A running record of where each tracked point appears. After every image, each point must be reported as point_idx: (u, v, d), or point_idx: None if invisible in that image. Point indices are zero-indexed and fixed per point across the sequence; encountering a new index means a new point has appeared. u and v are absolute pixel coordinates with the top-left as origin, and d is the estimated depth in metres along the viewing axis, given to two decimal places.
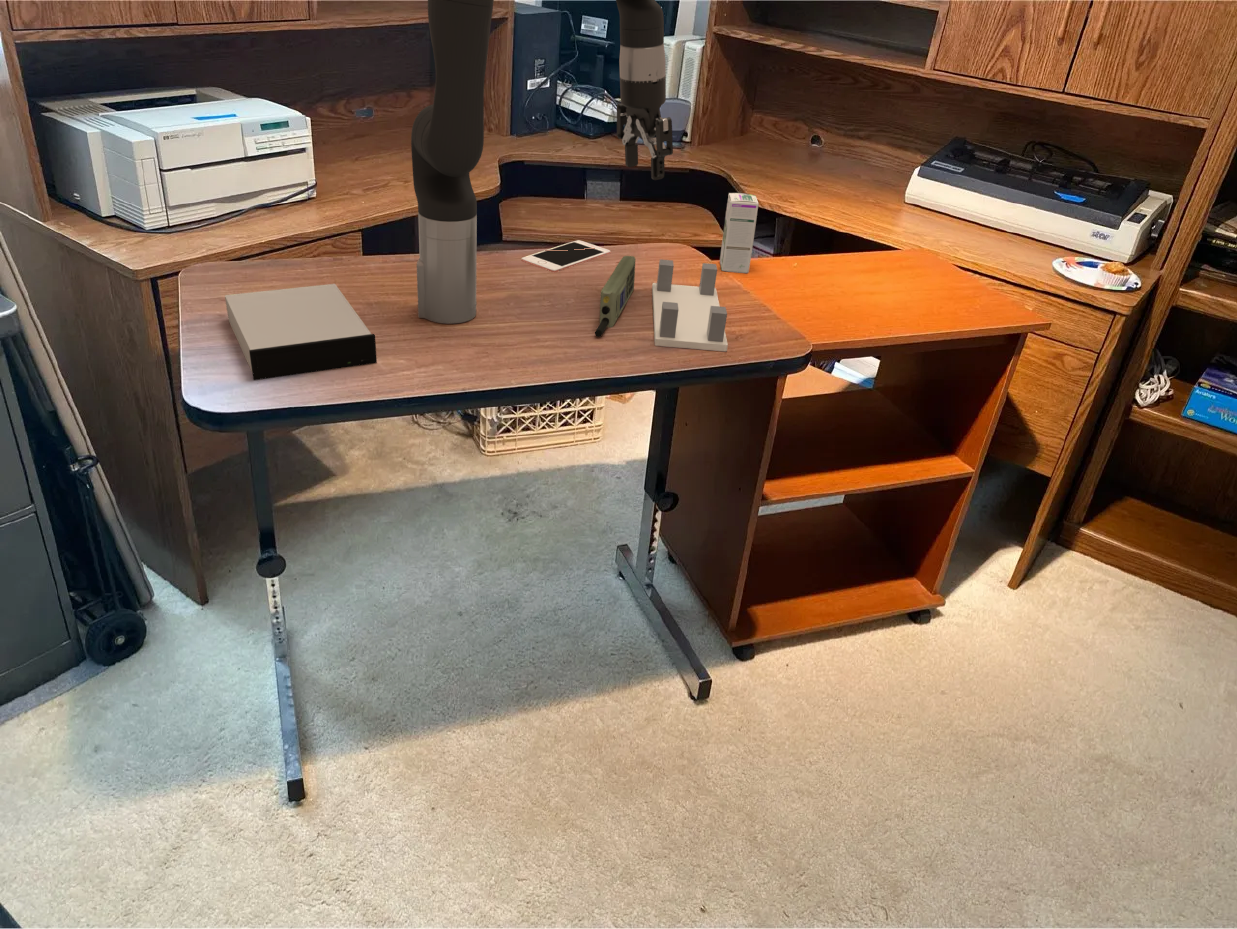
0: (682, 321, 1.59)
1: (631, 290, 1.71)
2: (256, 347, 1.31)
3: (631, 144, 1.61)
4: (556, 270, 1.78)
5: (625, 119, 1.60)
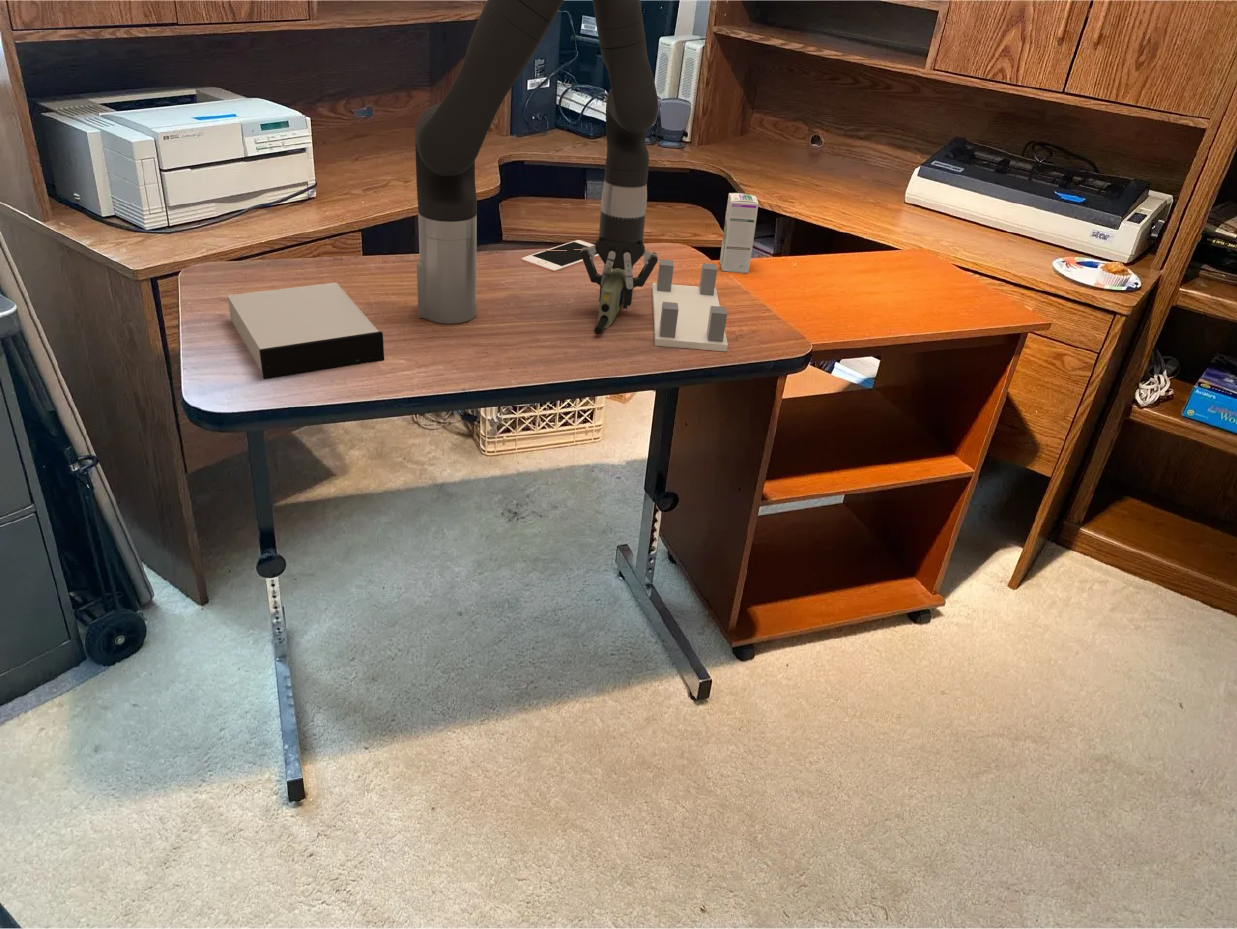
0: (682, 321, 1.59)
1: None
2: (266, 346, 1.31)
3: None
4: (556, 270, 1.78)
5: (592, 261, 1.59)
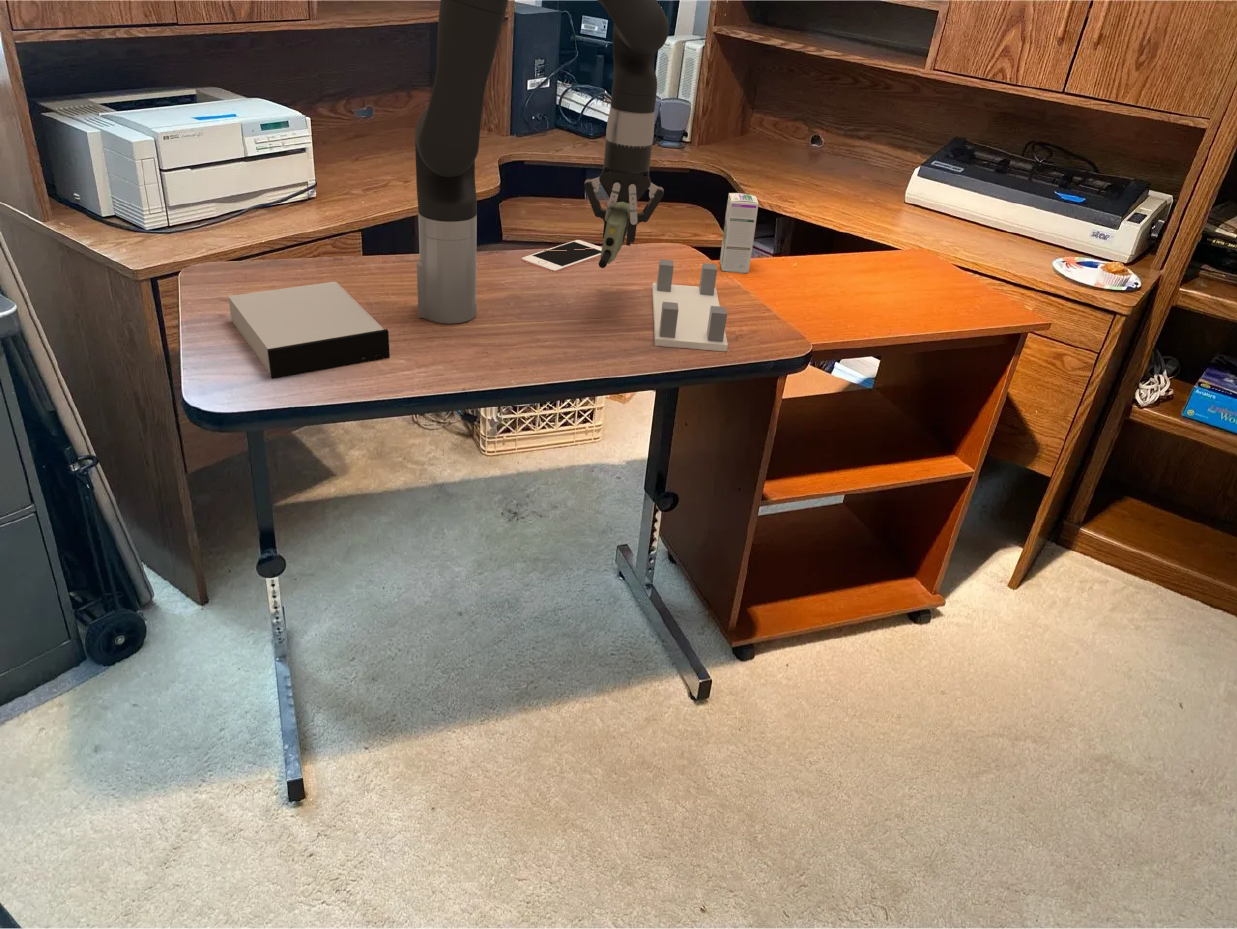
0: (682, 321, 1.59)
1: None
2: (273, 346, 1.31)
3: None
4: (556, 270, 1.78)
5: (595, 195, 1.53)
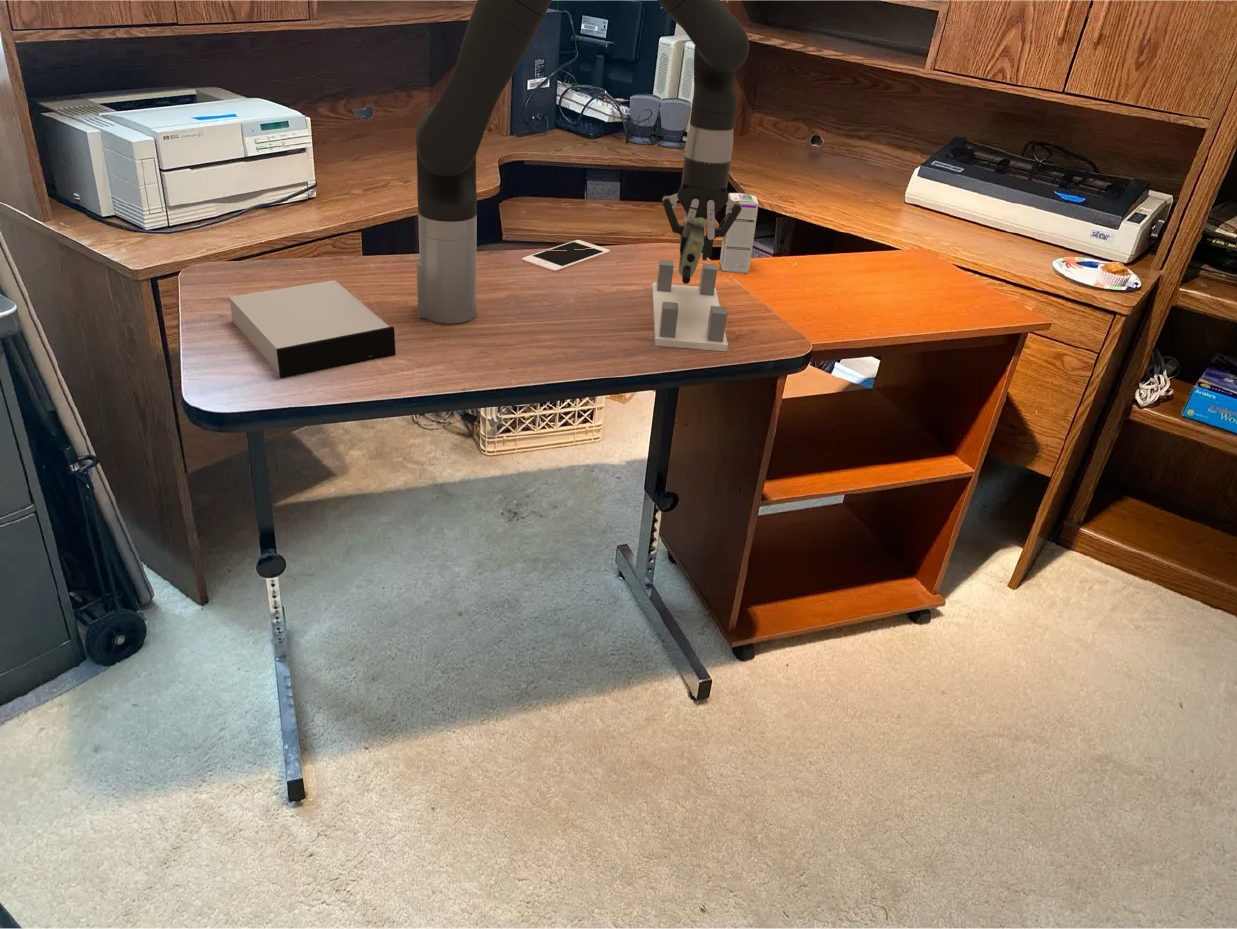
0: (682, 321, 1.59)
1: None
2: (281, 346, 1.32)
3: None
4: (557, 270, 1.78)
5: (673, 211, 1.54)
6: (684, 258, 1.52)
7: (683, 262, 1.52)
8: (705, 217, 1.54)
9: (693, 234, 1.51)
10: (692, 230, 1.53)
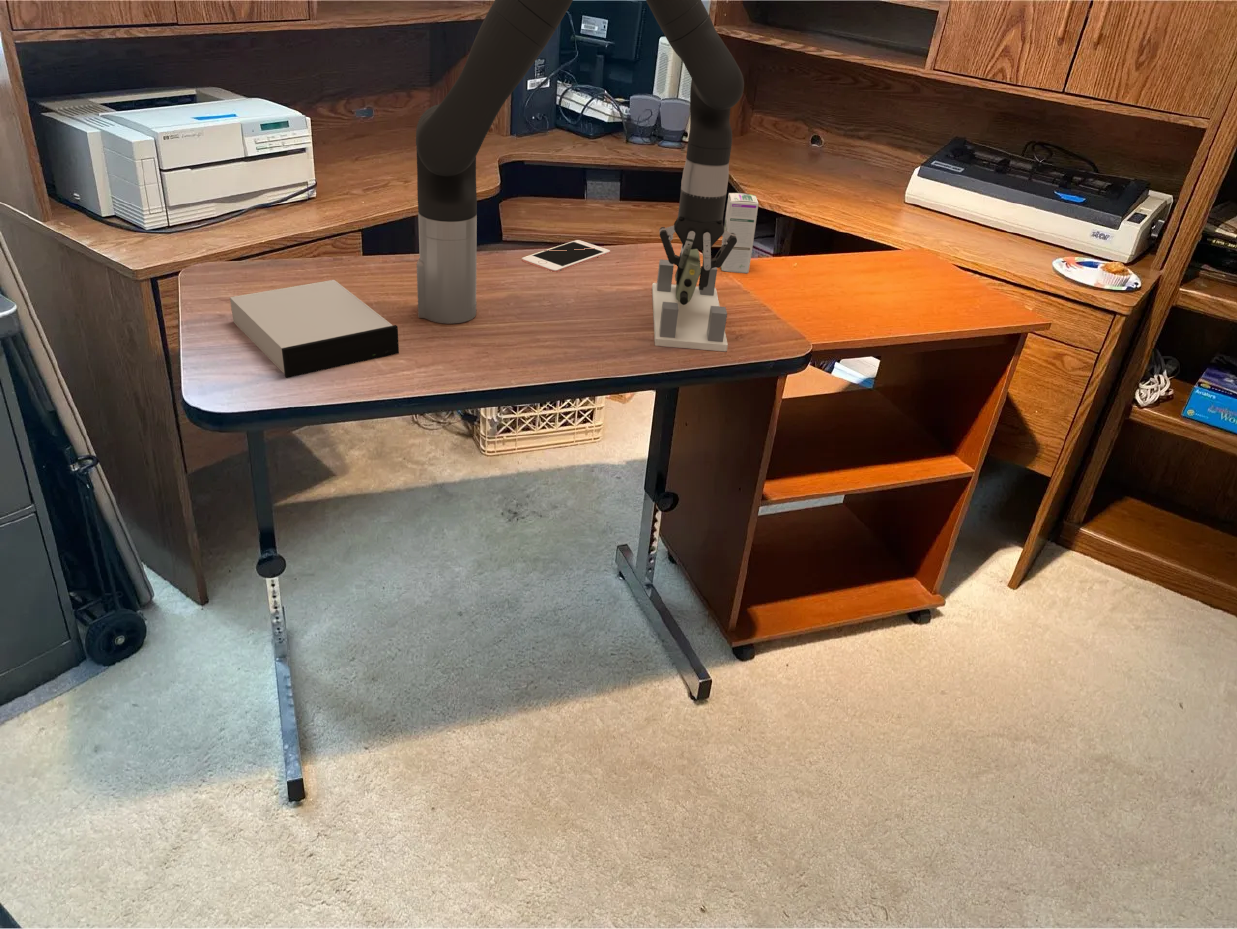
0: (682, 321, 1.59)
1: None
2: (286, 345, 1.32)
3: None
4: (557, 270, 1.78)
5: (670, 242, 1.57)
6: (681, 283, 1.54)
7: (680, 287, 1.54)
8: (701, 248, 1.57)
9: (690, 261, 1.55)
10: (689, 259, 1.57)
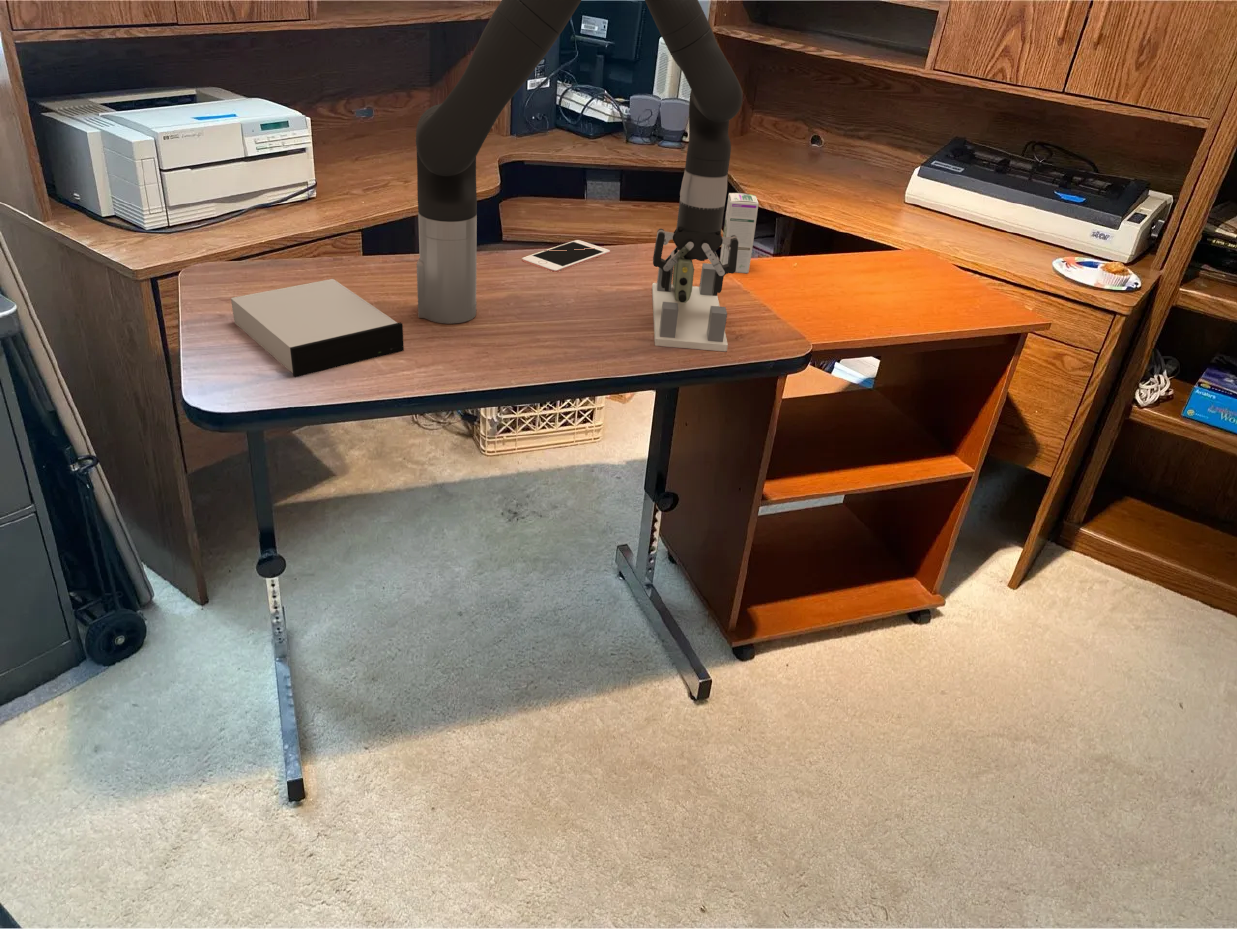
0: (682, 321, 1.59)
1: None
2: (294, 344, 1.32)
3: (670, 269, 1.59)
4: (557, 270, 1.78)
5: None
6: (677, 284, 1.54)
7: (677, 288, 1.55)
8: None
9: (681, 260, 1.55)
10: None
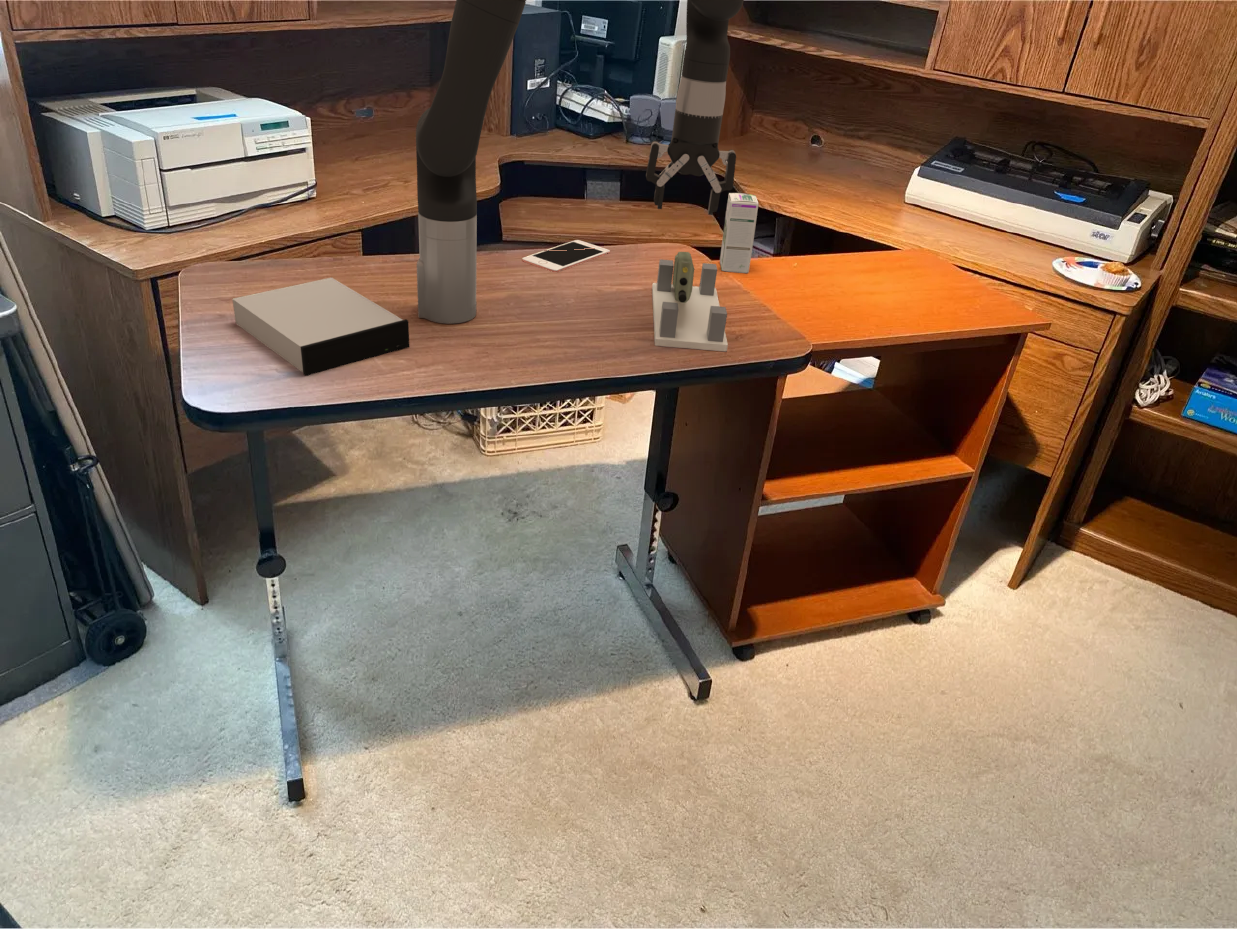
0: (682, 321, 1.59)
1: None
2: (304, 343, 1.33)
3: (663, 185, 1.52)
4: (557, 270, 1.78)
5: None
6: (677, 284, 1.54)
7: (677, 288, 1.55)
8: None
9: (681, 260, 1.55)
10: (680, 259, 1.57)
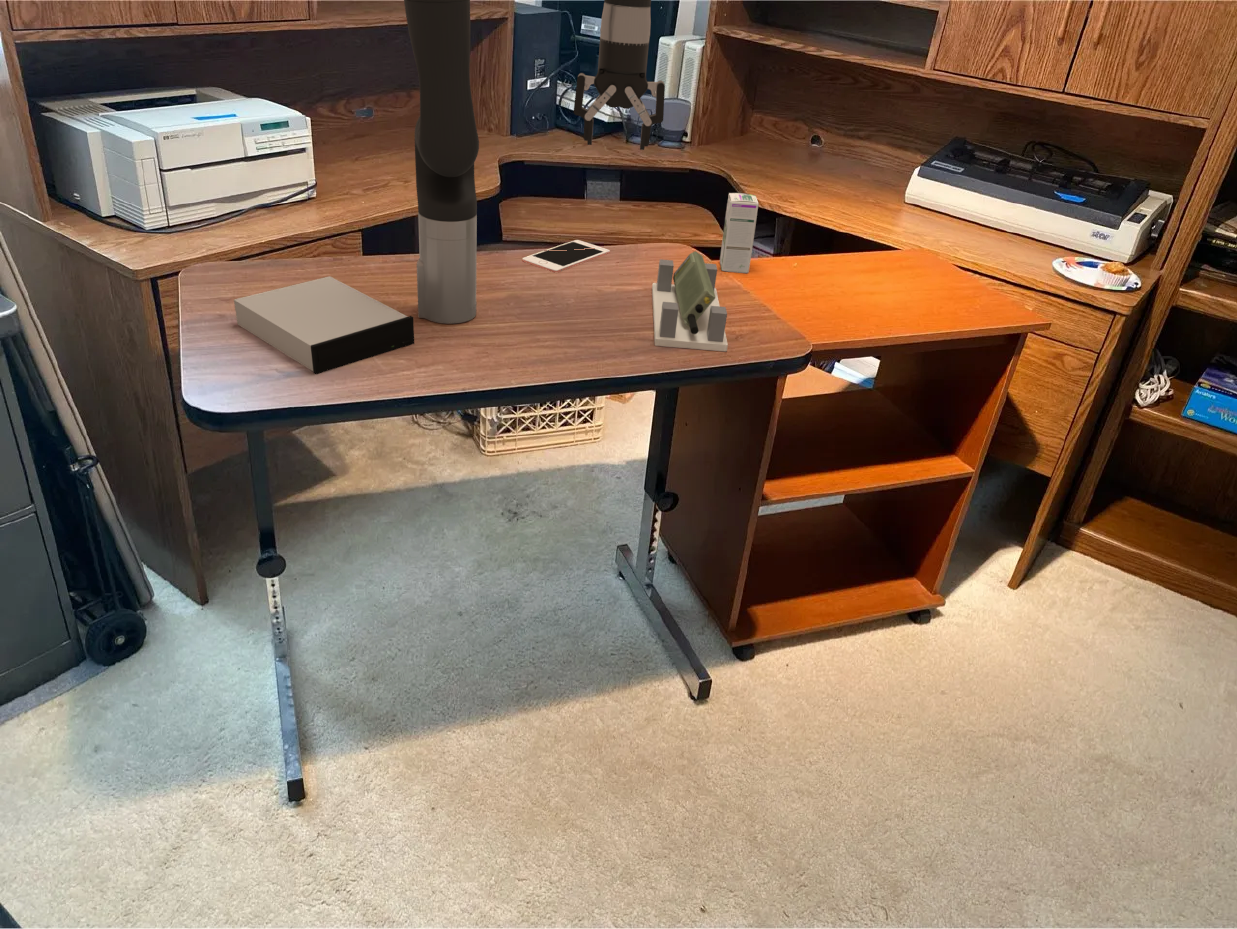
0: (682, 321, 1.59)
1: None
2: (313, 342, 1.34)
3: (592, 119, 1.48)
4: (558, 270, 1.78)
5: (583, 92, 1.45)
6: (692, 306, 1.56)
7: (690, 310, 1.56)
8: (632, 106, 1.46)
9: (707, 287, 1.56)
10: (704, 281, 1.58)
